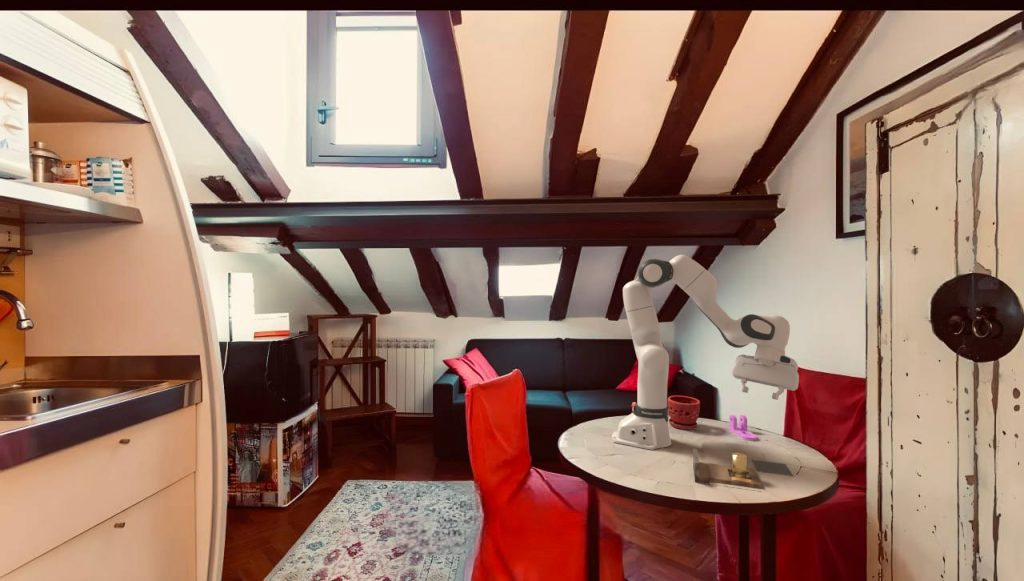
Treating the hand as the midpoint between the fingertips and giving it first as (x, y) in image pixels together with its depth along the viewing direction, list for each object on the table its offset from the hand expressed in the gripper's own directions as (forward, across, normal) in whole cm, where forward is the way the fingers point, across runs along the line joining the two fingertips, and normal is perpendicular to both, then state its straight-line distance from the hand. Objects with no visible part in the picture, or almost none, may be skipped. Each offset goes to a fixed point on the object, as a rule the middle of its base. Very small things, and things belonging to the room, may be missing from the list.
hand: (759, 395), depth 146 cm
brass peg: (+30, +2, -7) cm, 31 cm away
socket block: (+31, -1, -9) cm, 32 cm away
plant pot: (+14, -33, +27) cm, 45 cm away
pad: (+22, +7, +6) cm, 24 cm away
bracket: (+9, -12, +33) cm, 36 cm away
